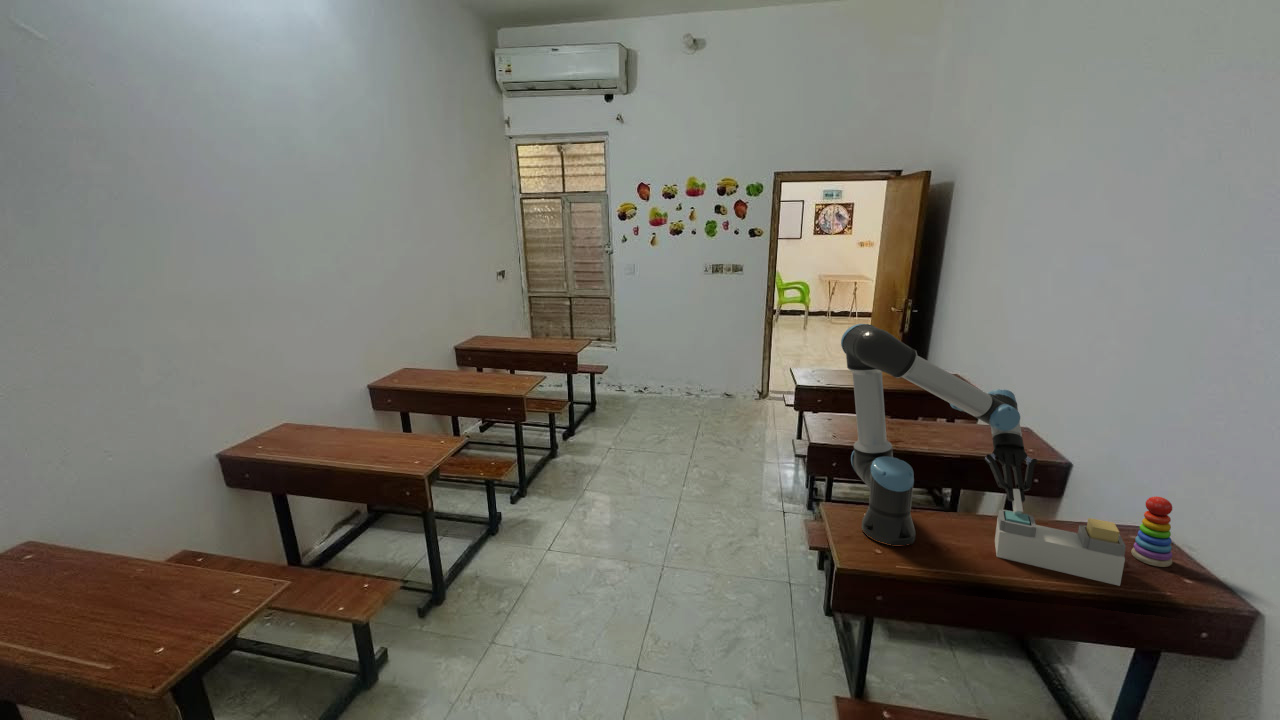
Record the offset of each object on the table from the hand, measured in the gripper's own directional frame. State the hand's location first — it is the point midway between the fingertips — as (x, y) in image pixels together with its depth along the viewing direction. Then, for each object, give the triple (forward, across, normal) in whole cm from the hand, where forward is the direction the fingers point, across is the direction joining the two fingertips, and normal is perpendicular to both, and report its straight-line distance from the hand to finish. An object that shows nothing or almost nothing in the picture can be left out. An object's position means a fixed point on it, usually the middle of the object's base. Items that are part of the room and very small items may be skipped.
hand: (1018, 512), depth 140 cm
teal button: (+3, 0, -3) cm, 5 cm away
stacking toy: (+4, -34, -15) cm, 37 cm away
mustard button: (+4, -17, +1) cm, 18 cm away
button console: (+10, -9, -8) cm, 15 cm away
